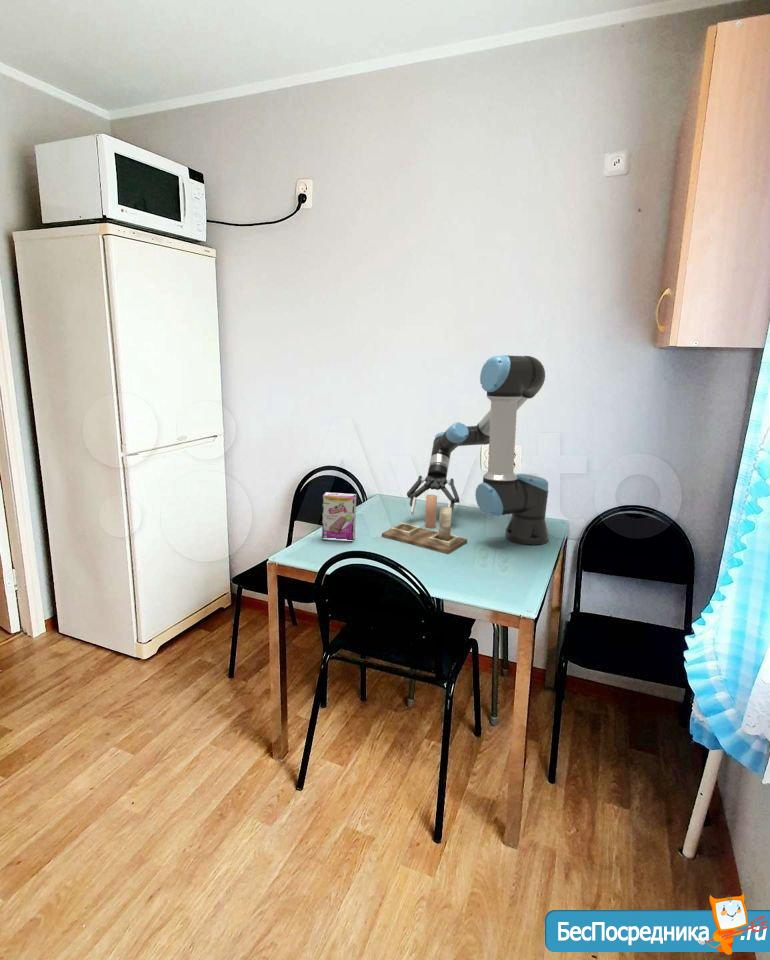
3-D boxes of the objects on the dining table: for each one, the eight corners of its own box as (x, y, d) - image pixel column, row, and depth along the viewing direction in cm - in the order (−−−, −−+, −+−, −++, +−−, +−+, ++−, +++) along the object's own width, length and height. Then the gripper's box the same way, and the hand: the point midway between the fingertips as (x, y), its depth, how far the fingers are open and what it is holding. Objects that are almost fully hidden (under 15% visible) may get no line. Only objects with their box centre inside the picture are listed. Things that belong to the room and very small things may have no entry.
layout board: (467, 542, 198) (469, 506, 194) (448, 553, 186) (450, 516, 183) (402, 526, 212) (404, 493, 209) (381, 536, 201) (382, 501, 198)
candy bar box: (321, 540, 195) (321, 495, 191) (324, 536, 200) (324, 491, 196) (353, 542, 194) (354, 497, 190) (355, 537, 199) (356, 493, 195)
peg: (437, 526, 214) (439, 495, 211) (432, 528, 211) (433, 498, 208) (428, 524, 216) (429, 494, 213) (423, 526, 213) (424, 496, 210)
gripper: (470, 476, 221) (463, 523, 211) (408, 470, 227) (398, 516, 217) (469, 465, 215) (462, 514, 205) (406, 460, 221) (396, 507, 211)
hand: (429, 515), depth 211 cm, fingers open, 13 cm apart
